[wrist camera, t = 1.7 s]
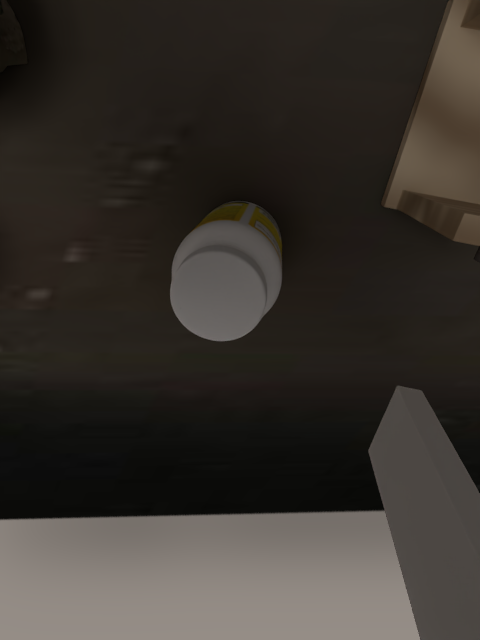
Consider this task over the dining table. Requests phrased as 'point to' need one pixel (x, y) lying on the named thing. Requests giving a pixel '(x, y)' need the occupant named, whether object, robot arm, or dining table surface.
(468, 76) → the holder
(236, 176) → the dining table surface
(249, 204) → the pill bottle
